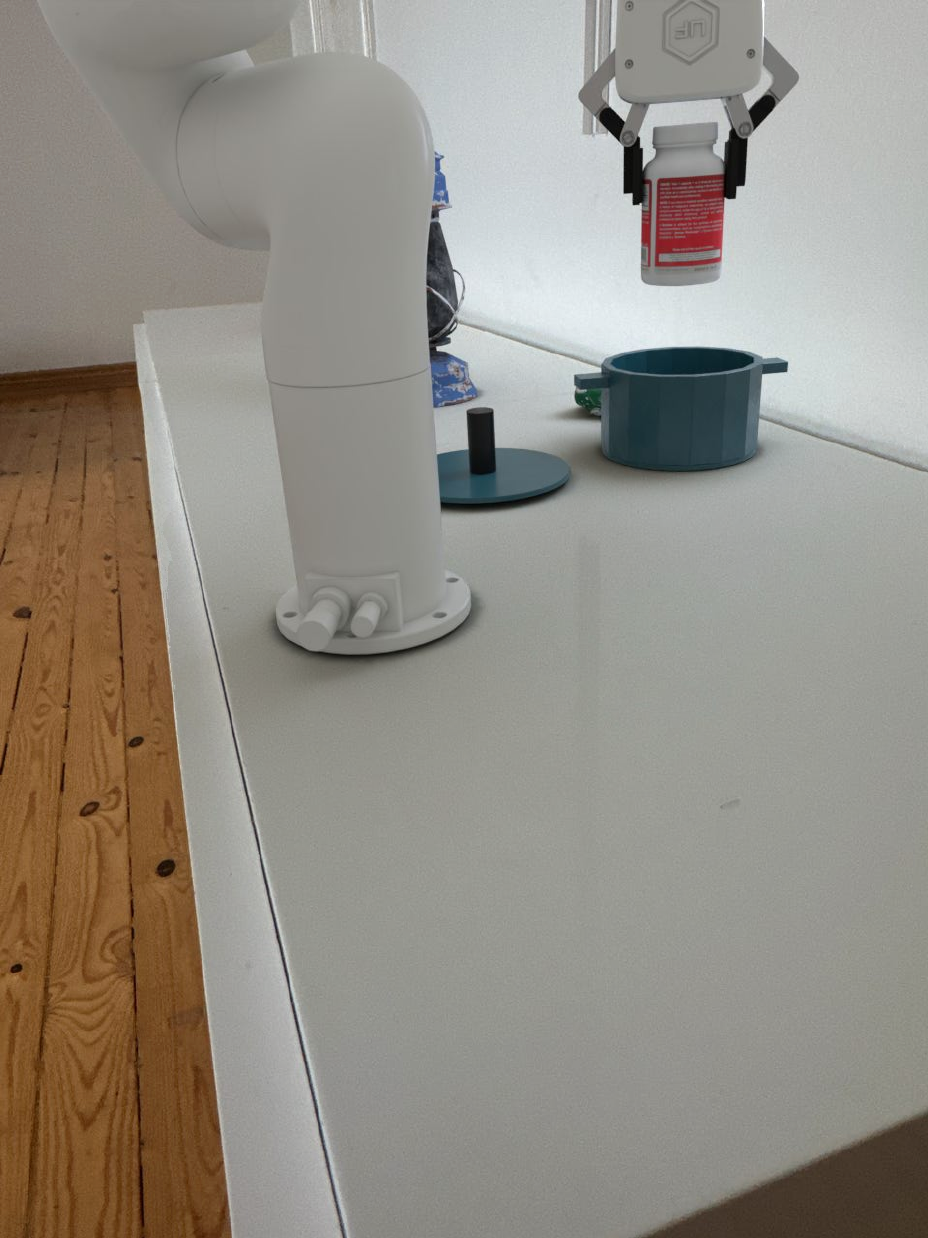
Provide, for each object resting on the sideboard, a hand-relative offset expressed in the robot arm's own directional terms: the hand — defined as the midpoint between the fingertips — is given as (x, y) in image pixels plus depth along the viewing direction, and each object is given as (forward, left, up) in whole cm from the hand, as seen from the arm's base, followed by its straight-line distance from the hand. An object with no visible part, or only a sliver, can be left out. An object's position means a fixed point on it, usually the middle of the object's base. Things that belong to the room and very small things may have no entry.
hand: (682, 198), depth 73 cm
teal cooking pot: (+12, -1, -23) cm, 26 cm away
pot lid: (+3, +17, -22) cm, 28 cm away
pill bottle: (0, 0, -6) cm, 6 cm away
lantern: (+39, +28, -23) cm, 53 cm away
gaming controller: (+27, +5, -23) cm, 36 cm away
